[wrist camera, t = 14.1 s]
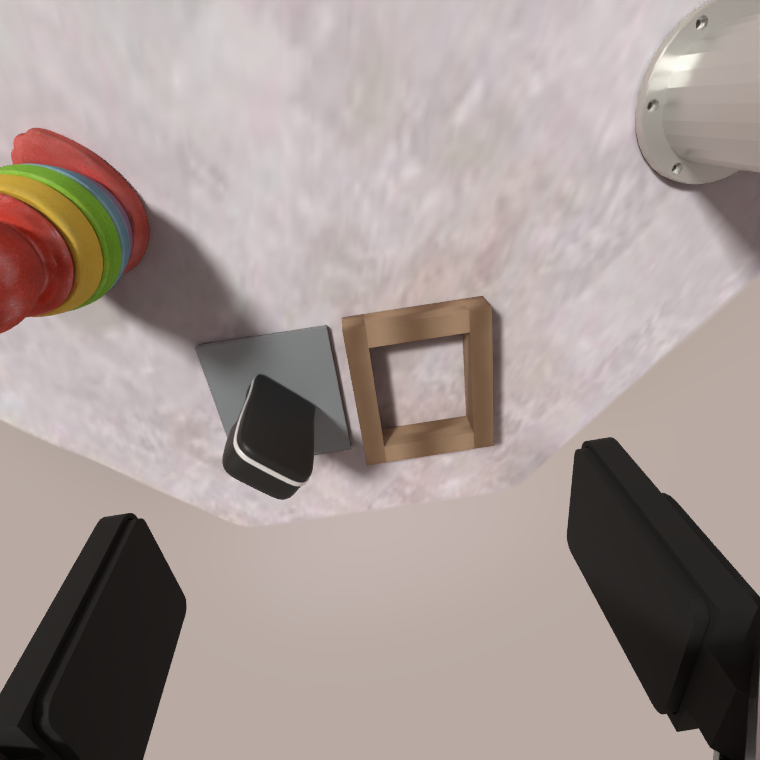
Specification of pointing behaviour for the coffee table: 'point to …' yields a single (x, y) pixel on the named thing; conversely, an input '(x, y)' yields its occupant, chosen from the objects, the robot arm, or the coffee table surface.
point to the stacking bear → (63, 228)
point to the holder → (413, 326)
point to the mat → (279, 378)
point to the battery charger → (271, 440)
